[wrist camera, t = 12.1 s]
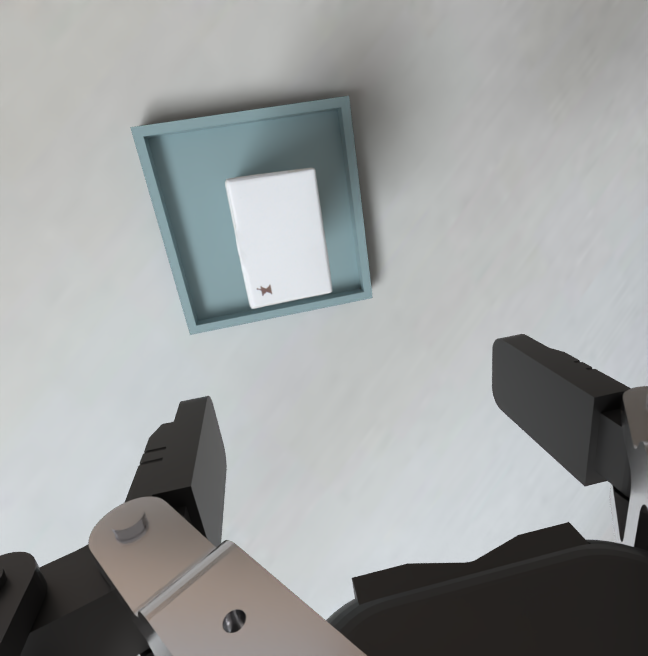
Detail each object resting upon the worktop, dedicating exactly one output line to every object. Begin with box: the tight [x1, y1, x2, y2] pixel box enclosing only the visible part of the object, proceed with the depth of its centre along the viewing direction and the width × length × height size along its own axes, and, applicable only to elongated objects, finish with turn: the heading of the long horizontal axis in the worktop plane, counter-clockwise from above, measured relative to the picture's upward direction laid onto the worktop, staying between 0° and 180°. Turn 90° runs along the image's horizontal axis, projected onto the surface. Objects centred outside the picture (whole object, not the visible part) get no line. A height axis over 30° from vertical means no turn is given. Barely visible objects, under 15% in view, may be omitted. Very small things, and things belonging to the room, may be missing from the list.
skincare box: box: [225, 168, 332, 309], centre depth 25 cm, size 6×4×12 cm
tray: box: [130, 96, 372, 335], centre depth 30 cm, size 14×14×2 cm
